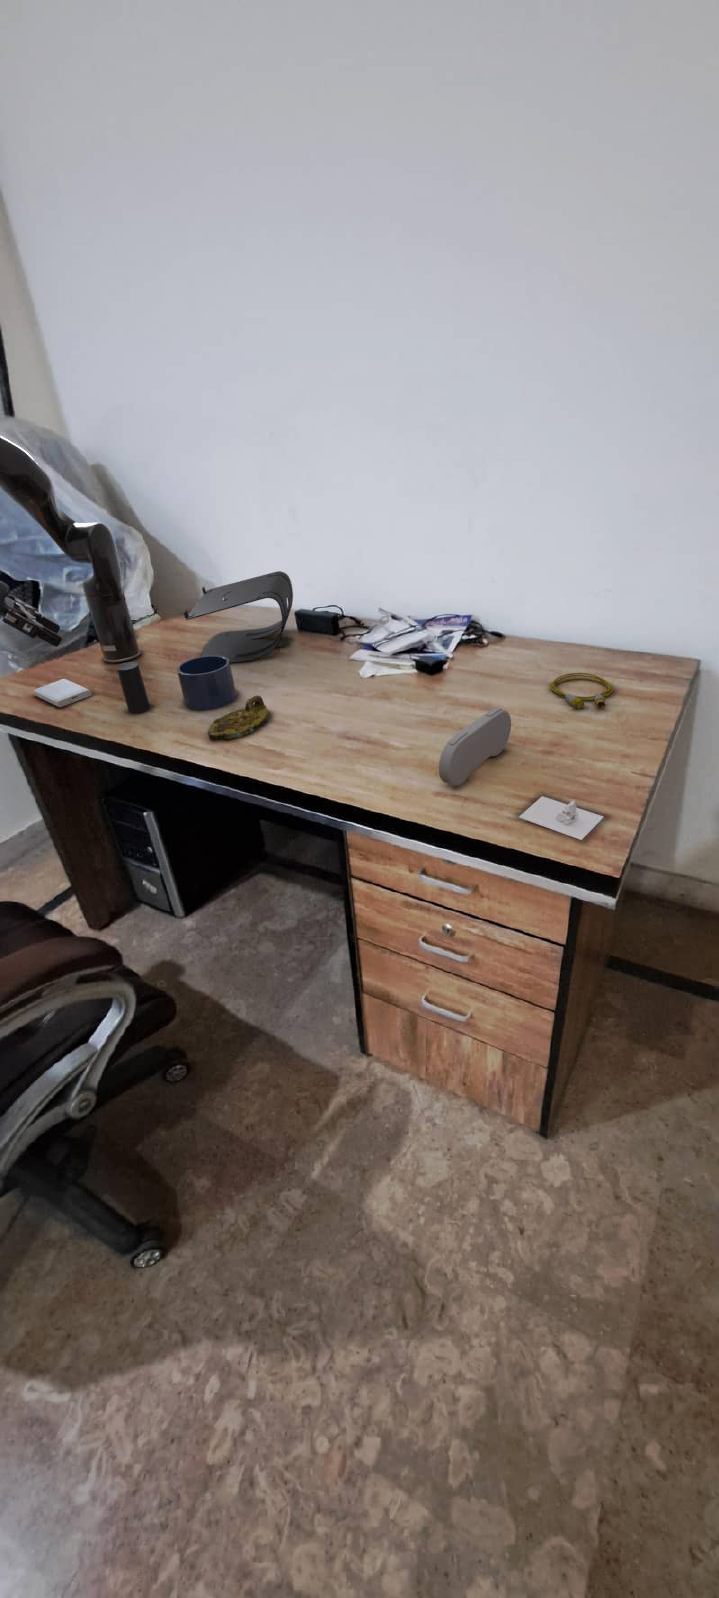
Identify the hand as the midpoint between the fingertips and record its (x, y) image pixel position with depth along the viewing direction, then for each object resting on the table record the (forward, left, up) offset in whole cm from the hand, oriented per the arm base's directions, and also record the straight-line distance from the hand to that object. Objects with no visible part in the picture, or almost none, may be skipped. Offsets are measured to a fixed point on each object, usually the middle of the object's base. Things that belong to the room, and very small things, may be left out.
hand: (59, 636), depth 134 cm
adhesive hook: (+79, +62, -19) cm, 102 cm away
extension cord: (+46, +92, -19) cm, 105 cm away
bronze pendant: (+21, +28, -19) cm, 40 cm away
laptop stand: (-25, +43, -19) cm, 53 cm away
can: (+4, +26, -19) cm, 32 cm away
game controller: (+60, +59, -19) cm, 86 cm away
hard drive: (-19, -4, -19) cm, 27 cm away
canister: (0, +11, -19) cm, 22 cm away
